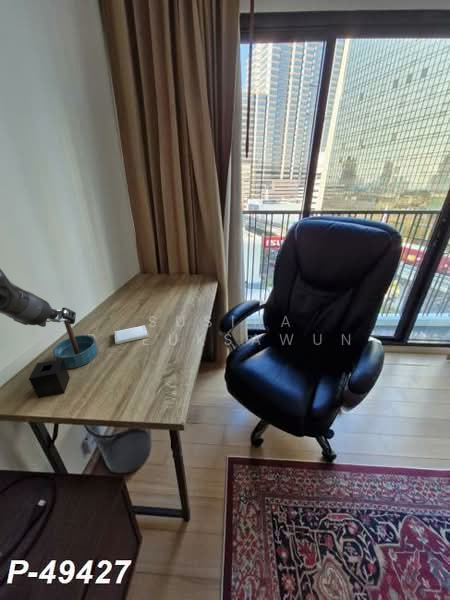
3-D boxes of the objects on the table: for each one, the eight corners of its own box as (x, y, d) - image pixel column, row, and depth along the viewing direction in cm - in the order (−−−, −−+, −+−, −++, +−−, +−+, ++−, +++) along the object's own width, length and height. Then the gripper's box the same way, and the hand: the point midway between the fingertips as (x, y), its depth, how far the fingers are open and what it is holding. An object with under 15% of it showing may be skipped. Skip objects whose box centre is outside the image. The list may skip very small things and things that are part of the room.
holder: (38, 398, 75) (28, 378, 71) (45, 382, 81) (37, 362, 77) (64, 393, 76) (56, 373, 73) (70, 377, 83) (62, 358, 79)
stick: (75, 357, 90) (60, 314, 82) (76, 355, 92) (61, 312, 84) (80, 356, 91) (65, 313, 83) (81, 354, 92) (67, 311, 84)
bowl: (52, 373, 84) (47, 360, 82) (63, 350, 96) (59, 338, 93) (95, 365, 88) (91, 353, 85) (100, 344, 99) (97, 332, 97)
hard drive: (114, 341, 98) (147, 334, 102) (114, 331, 104) (144, 324, 109) (115, 345, 98) (148, 337, 103) (115, 334, 105) (145, 327, 109)
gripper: (57, 291, 67) (83, 309, 82) (-2, 296, 65) (36, 313, 80) (54, 318, 65) (81, 331, 80) (-7, 323, 63) (33, 336, 78)
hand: (59, 322), depth 80 cm, fingers open, 8 cm apart
